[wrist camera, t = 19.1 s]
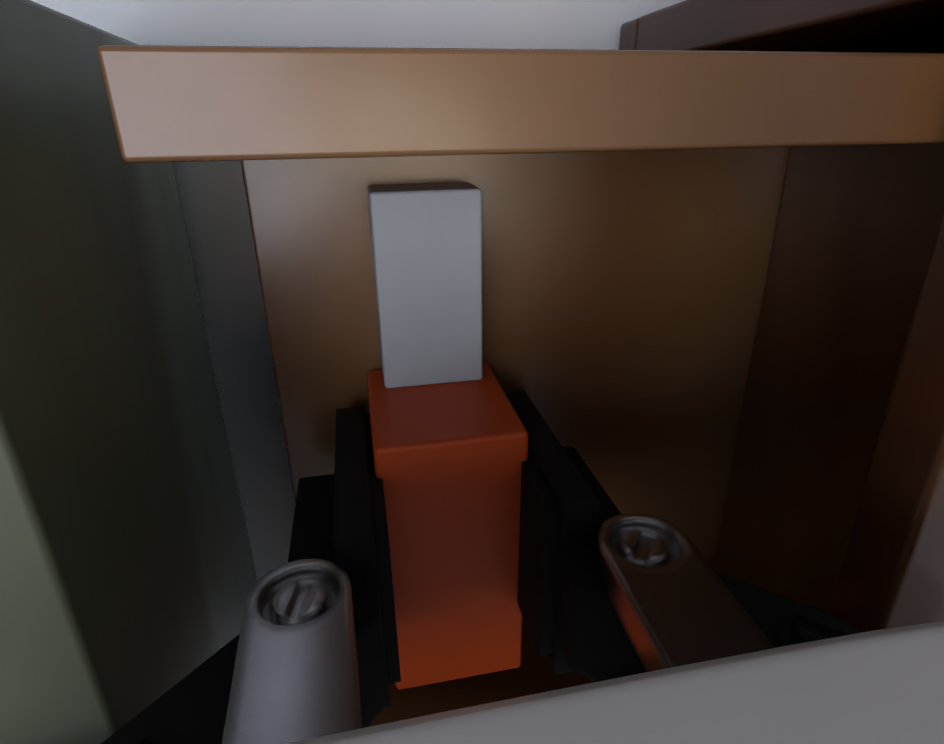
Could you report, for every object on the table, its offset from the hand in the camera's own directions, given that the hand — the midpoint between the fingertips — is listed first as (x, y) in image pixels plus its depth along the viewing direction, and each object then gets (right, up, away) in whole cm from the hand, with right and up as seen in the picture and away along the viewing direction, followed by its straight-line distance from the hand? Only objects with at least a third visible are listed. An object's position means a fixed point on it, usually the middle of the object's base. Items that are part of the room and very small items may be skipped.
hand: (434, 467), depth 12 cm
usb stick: (0, +1, 0) cm, 1 cm away
